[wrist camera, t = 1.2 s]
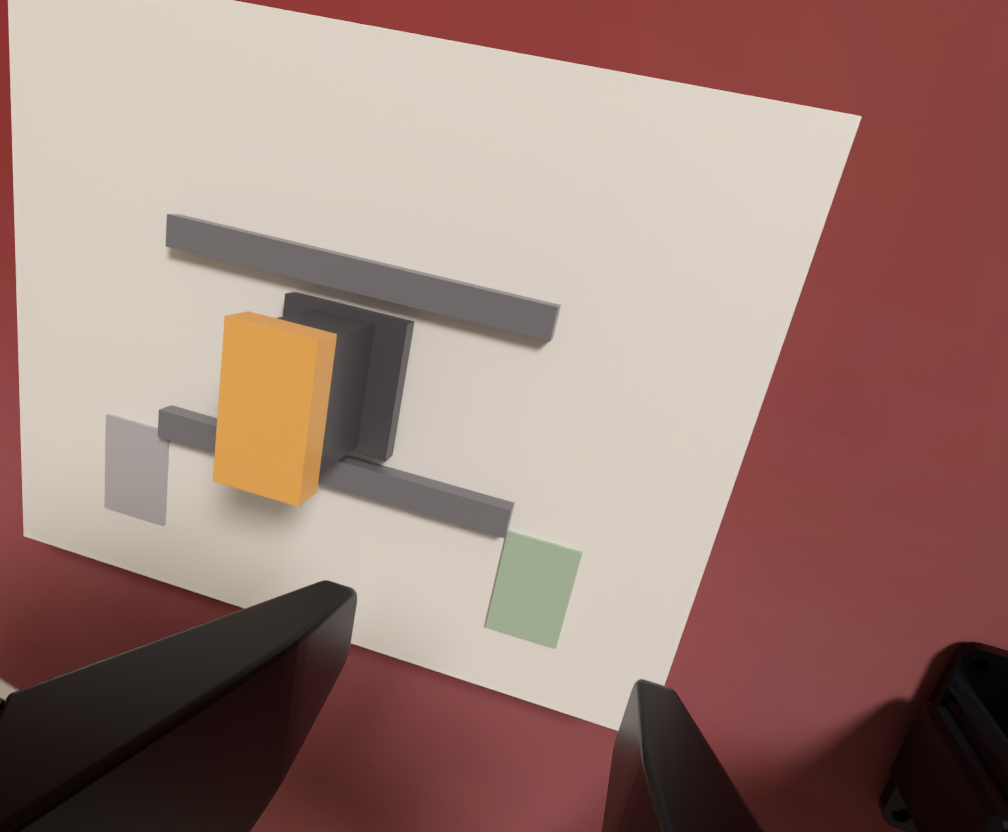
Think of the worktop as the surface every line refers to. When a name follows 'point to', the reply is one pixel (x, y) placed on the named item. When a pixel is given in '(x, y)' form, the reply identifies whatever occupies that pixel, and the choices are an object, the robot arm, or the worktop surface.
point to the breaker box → (413, 296)
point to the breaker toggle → (306, 393)
